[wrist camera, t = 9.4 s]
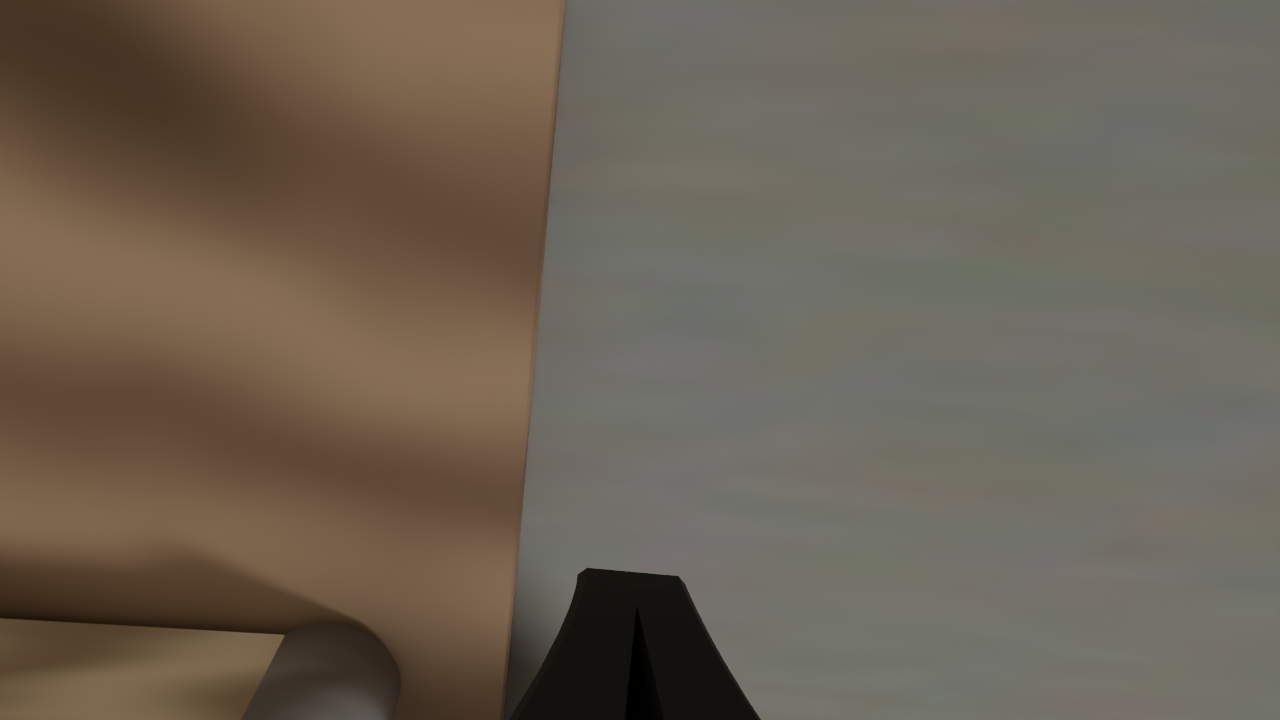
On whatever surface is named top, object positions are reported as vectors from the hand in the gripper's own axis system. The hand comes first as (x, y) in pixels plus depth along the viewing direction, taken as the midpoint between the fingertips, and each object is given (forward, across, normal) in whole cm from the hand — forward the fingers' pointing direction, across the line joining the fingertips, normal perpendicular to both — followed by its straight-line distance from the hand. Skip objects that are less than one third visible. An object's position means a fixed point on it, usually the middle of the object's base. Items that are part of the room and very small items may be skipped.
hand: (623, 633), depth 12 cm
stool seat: (+9, +12, +2) cm, 15 cm away
